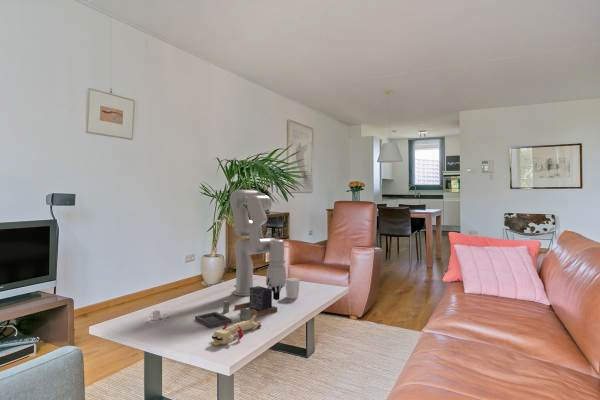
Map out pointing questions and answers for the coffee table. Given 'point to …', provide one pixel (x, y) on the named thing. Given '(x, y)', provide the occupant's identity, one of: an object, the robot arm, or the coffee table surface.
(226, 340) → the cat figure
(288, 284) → the white cup
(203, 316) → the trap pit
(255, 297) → the small box
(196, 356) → the coffee table surface
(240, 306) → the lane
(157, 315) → the teacup and saucer
